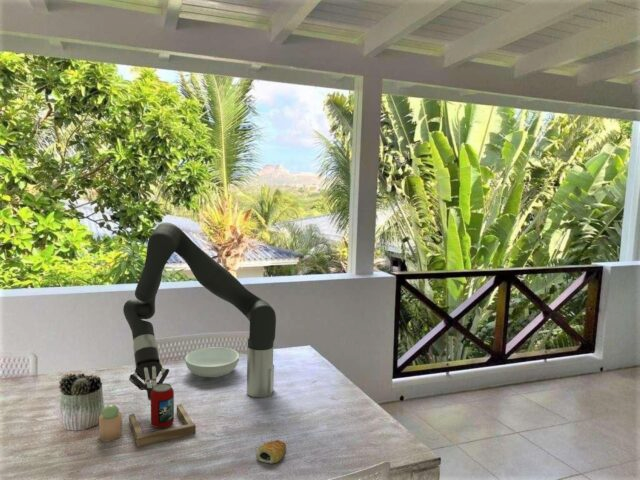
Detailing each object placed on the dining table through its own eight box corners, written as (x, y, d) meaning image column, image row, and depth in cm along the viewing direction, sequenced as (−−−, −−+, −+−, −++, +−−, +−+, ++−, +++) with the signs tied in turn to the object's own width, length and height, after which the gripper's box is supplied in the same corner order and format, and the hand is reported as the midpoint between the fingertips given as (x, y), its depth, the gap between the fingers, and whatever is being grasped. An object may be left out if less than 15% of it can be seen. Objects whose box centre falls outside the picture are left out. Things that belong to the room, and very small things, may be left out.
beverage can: (166, 431, 140) (166, 392, 139) (146, 427, 142) (146, 390, 140) (178, 420, 147) (177, 383, 146) (158, 417, 148) (158, 381, 147)
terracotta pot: (125, 430, 140) (125, 401, 139) (115, 441, 134) (115, 410, 133) (106, 429, 140) (105, 400, 139) (95, 440, 134) (94, 409, 133)
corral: (128, 422, 145) (128, 414, 144) (182, 411, 153) (182, 403, 153) (137, 447, 131) (137, 438, 131) (195, 433, 140) (195, 425, 140)
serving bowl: (173, 374, 183) (173, 357, 182) (214, 359, 200) (214, 343, 199) (210, 388, 171) (210, 370, 170) (249, 371, 188) (250, 354, 187)
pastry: (271, 444, 136) (271, 431, 135) (291, 450, 133) (292, 437, 133) (253, 460, 127) (254, 447, 127) (275, 467, 125) (275, 454, 124)
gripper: (164, 353, 164) (172, 401, 155) (123, 359, 157) (129, 409, 148) (167, 343, 159) (176, 391, 150) (126, 348, 152) (132, 399, 143)
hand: (153, 400), depth 149 cm, fingers closed
